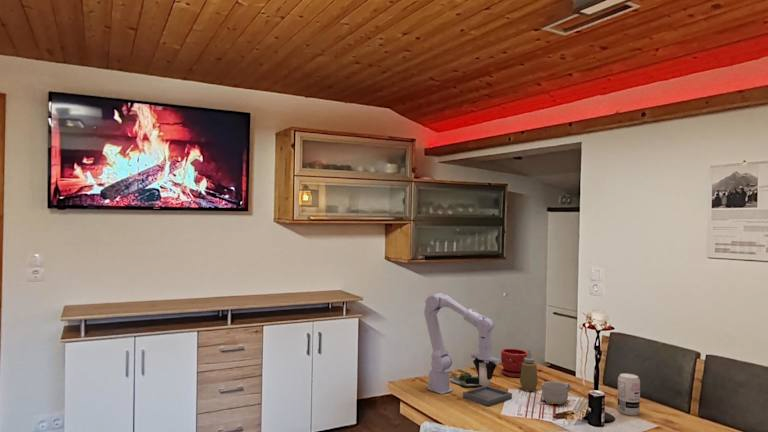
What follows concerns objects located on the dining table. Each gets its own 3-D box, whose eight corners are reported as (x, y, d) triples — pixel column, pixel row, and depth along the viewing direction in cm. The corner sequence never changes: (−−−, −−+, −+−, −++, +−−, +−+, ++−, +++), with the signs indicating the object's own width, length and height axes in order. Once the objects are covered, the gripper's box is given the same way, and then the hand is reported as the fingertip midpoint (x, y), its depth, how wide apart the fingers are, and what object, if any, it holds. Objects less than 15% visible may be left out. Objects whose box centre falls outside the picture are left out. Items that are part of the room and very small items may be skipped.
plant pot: (523, 379, 262) (523, 355, 262) (497, 375, 269) (497, 351, 269) (530, 373, 273) (531, 350, 273) (505, 369, 280) (506, 346, 280)
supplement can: (620, 407, 224) (621, 371, 224) (642, 412, 219) (642, 375, 219) (615, 412, 218) (615, 375, 218) (636, 417, 213) (637, 379, 213)
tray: (463, 398, 234) (463, 392, 234) (486, 390, 244) (486, 385, 244) (488, 406, 223) (488, 400, 223) (511, 398, 233) (511, 393, 233)
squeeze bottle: (536, 387, 250) (536, 348, 250) (539, 392, 242) (539, 353, 242) (518, 386, 251) (519, 348, 251) (521, 392, 243) (521, 352, 243)
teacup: (550, 408, 223) (550, 388, 223) (536, 399, 233) (536, 381, 233) (579, 405, 226) (579, 386, 226) (564, 397, 237) (564, 379, 237)
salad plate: (439, 380, 260) (439, 371, 260) (464, 374, 271) (464, 365, 271) (469, 391, 245) (469, 380, 245) (494, 383, 256) (494, 374, 256)
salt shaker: (476, 384, 233) (476, 362, 233) (484, 381, 235) (484, 361, 235) (485, 386, 229) (484, 365, 229) (492, 384, 232) (492, 363, 232)
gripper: (466, 344, 235) (466, 375, 235) (492, 350, 224) (492, 383, 224) (476, 342, 240) (476, 372, 240) (503, 348, 229) (502, 380, 229)
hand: (484, 377), depth 232 cm, fingers closed on salt shaker, 5 cm apart
